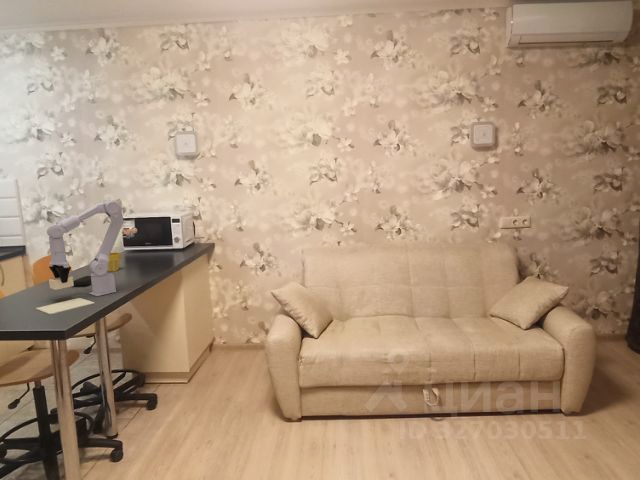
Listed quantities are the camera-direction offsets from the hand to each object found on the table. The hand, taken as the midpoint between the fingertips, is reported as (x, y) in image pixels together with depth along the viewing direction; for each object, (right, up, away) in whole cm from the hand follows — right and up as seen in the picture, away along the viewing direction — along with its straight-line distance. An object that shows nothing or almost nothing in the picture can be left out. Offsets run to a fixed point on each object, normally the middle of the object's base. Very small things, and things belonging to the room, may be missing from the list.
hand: (61, 281), depth 207 cm
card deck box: (0, -2, 0) cm, 2 cm away
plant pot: (-4, +1, +61) cm, 61 cm away
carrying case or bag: (-5, -4, +32) cm, 32 cm away
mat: (+6, -10, -9) cm, 14 cm away
